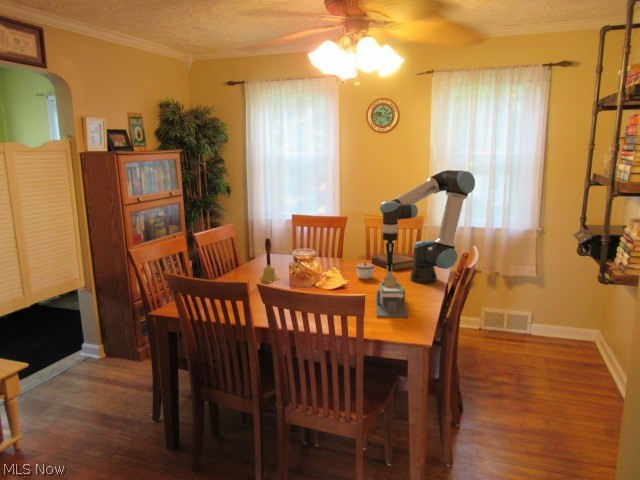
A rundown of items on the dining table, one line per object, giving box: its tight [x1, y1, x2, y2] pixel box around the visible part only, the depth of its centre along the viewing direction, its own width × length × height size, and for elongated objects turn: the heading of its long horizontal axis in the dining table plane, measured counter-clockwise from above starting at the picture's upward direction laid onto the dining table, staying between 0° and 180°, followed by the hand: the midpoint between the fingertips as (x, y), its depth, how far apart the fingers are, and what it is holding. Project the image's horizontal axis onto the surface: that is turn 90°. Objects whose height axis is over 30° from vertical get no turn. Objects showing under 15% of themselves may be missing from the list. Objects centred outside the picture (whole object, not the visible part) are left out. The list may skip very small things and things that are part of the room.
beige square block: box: [383, 275, 398, 287], centre depth 232 cm, size 6×6×5 cm
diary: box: [371, 252, 414, 272], centre depth 301 cm, size 23×19×6 cm
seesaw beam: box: [379, 282, 404, 297], centre depth 223 cm, size 10×28×3 cm, turn 174°
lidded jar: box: [355, 262, 375, 280], centre depth 273 cm, size 11×11×9 cm
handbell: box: [258, 237, 280, 282], centre depth 271 cm, size 12×12×25 cm
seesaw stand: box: [375, 288, 409, 319], centre depth 224 cm, size 14×32×8 cm, turn 174°
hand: (389, 276), depth 237 cm, fingers closed
